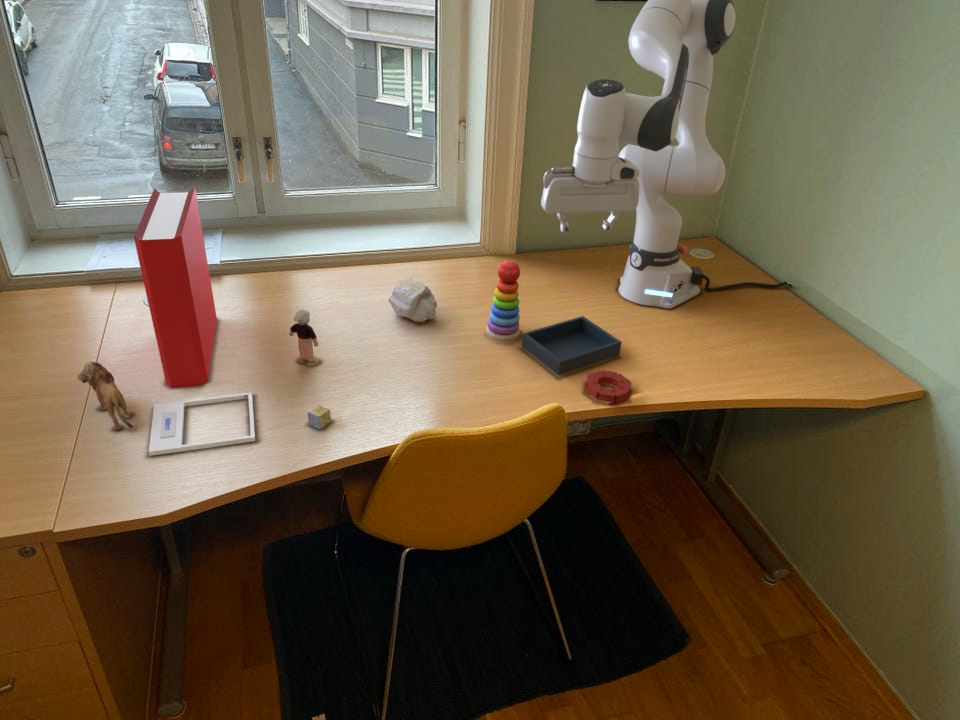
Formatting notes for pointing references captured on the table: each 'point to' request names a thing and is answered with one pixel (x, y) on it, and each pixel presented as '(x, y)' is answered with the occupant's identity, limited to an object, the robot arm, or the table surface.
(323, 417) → the alphabet block
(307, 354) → the grandmother figurine
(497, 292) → the stacking toy
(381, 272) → the table surface
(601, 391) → the ring
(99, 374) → the lion figurine
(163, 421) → the photo frame
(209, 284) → the book
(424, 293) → the white rock
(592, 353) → the tray
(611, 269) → the table surface
